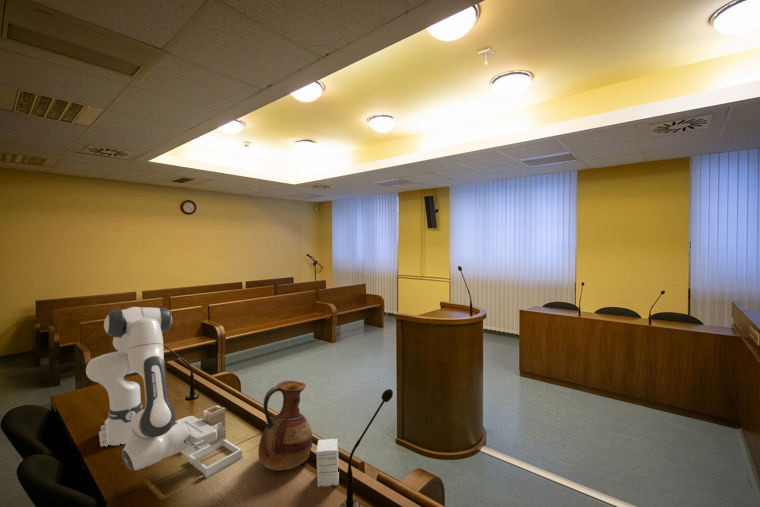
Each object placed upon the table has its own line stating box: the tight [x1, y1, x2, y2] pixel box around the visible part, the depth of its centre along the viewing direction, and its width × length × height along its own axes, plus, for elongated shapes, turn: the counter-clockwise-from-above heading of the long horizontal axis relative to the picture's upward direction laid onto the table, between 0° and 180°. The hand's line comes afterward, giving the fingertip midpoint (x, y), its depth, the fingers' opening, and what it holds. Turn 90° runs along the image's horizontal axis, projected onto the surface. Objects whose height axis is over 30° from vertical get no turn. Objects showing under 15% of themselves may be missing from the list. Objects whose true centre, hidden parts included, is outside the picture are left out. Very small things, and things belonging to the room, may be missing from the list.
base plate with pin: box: [180, 444, 209, 458], centre depth 141 cm, size 12×12×9 cm
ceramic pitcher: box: [258, 380, 313, 471], centre depth 131 cm, size 20×20×30 cm
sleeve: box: [202, 404, 227, 446], centre depth 132 cm, size 6×7×12 cm
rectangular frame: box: [187, 438, 243, 479], centre depth 132 cm, size 14×14×4 cm
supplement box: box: [316, 438, 340, 488], centre depth 120 cm, size 7×7×13 cm
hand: (216, 421), depth 132 cm, fingers closed on sleeve, 6 cm apart
